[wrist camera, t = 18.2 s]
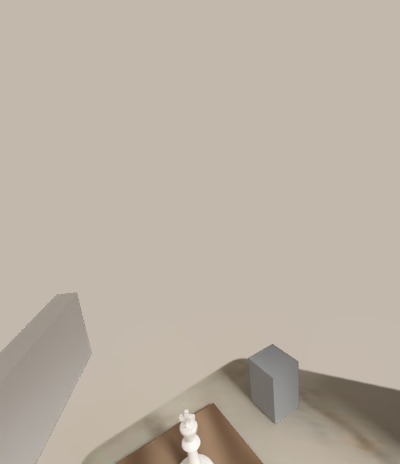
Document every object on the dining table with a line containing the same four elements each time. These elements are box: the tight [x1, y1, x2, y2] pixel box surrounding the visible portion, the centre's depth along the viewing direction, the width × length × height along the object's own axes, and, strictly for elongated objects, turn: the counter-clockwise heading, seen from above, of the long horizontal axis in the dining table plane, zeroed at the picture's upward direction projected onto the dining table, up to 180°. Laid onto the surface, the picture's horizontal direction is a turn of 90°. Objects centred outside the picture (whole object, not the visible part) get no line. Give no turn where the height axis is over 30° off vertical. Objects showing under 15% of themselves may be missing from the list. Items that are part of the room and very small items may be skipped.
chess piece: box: [179, 410, 213, 464], centre depth 32 cm, size 5×5×10 cm
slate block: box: [248, 344, 299, 424], centre depth 42 cm, size 5×5×8 cm
